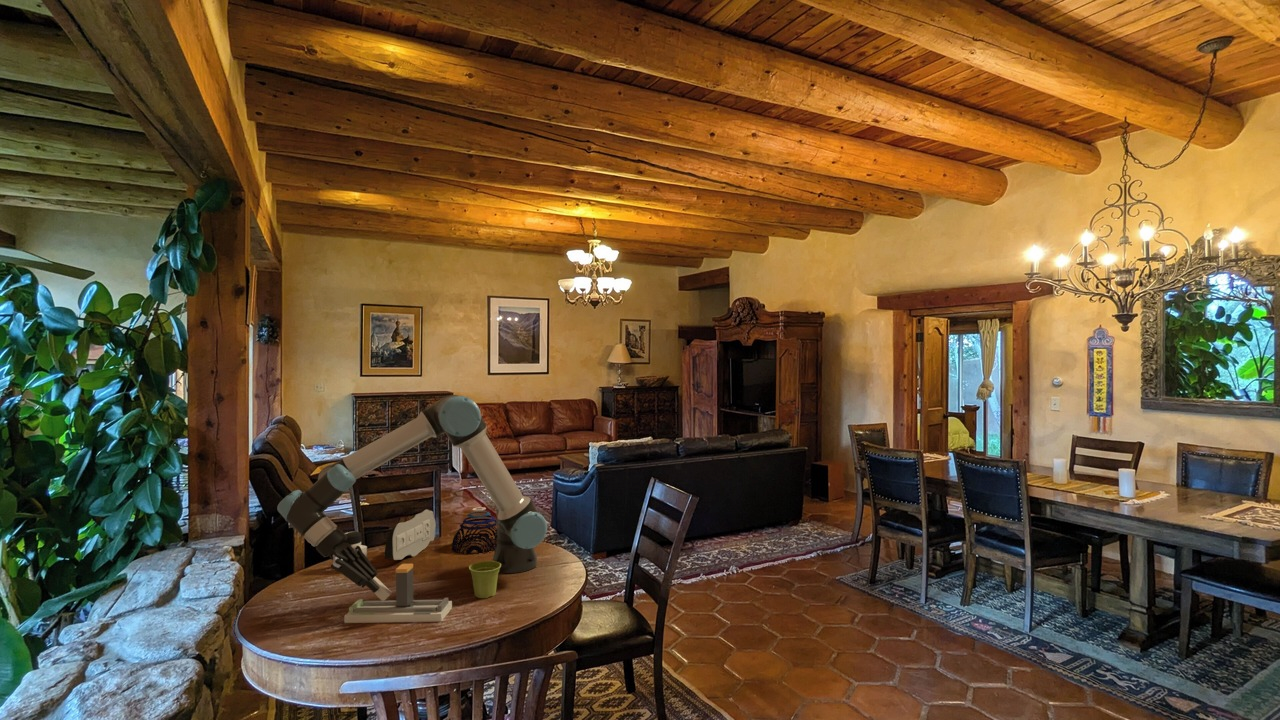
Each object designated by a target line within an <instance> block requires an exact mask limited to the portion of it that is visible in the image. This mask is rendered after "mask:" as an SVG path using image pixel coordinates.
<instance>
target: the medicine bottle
mask: <svg viewBox="0 0 1280 720" xmlns="http://www.w3.org/2000/svg"><path fill="white" fill-rule="evenodd" d="M344 533H345V534H346V535H347V539H346V542H347V543H348V544H350V545H351V546H352V547H353V548H356V547H357V546H359V547H360V548H361V550H362V552H363V553H364V555H365V556H366V557H367V558H368V546H367V545H363V544H362V532H359V531H349V532H348V531H347V532H344Z"/></svg>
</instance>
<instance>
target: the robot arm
mask: <svg viewBox="0 0 1280 720" xmlns="http://www.w3.org/2000/svg"><path fill="white" fill-rule="evenodd" d="M487 430H488V426H487V424H486V422H485V420H484V419H483V417H482V413H481V410H480V407H479V405H478V404H477V403H476V401H474V400H473V399H471V398H469V397H468V396H465V395H458V394H457V395H456V394H449V395H446V396H443V397H442V398H441V399H439V400H437V401H435V403H433V404H432V405H430V406H428V407H427V408H426V409H423V410H422V411H420V413H419V415H418V416H417V417H416V418H414V419H412V420H410V421H408V422H406V423H405V424H403V425H401V426H399V427H398V428H396V429H394V430H392V431H390V432H389V433H387V434H385V435H383V436H381V437H379V438H378V439H376V440H374V441H372V442H371V443H369V444H367V445H365V446H363V447H361V448H360V449H358V450H356V451H354V452H352V453H351V454H349V455H347V456H345V457H343V458H342V459H340V460H338V461H336V462H334V463H332V464H328V465H326V466H325V467H324V468H322V469H321V470H320V471H319V473H318V476H317V480H316V482H314V483H313V484H312V485H311V486H310V487H309V488H307V489H306V490H304V491H302V490H300V489H296V490H294V491H292V492H290V493H289V494H287V495H286V496H285V497H284V498H283V499H282V500H281V501H280V502H279V503H278V504H277V512H278V513H279V514H280V516H281V517H282V518H283V519H284V520H285V521H286V522H287V523H288V524H289V525H290V526H291V527H293V529H295V531H297V532H298V534H300V535H301V536H302V537H303V538H304V539H305V540H306V541H307V543H309V544H311V546H312V547H315V549H316V551H317V552H318V553H319V554H320V555H321V556H322V557H323V558H327V557H329V558H330V559H331V560H332V563H331V565H330V568H331V569H333V570H335V571H338V572H339V573H340V574H342V575H343V576H345V578H347V579H349V580H350V581H351V582H353V583H354V584H356V586H358V587H361V588H365V587H367V588H368V589H369V590H370V591H371V592H372V593H374V595H375V596H376V597H377V598H378V599H380V601H383V602H384V601H387V599H388V598H389V597H390V596H391V595H392V594H393V592H392V591H391V590H390V589H389V588H388V587H387V586H386V585H385V584H384V583H383V582H382V581H381V580H380V579H379V578H377V576H378V573H379V572H378V570H377V569H376V568H375V566H374V565H373V564H372V563H371V561H370V560H369V559H368V556H367V557H366V556H365V555H364V553H363V552H362V550H361V548H360V547H359V546H357V547H356V548H353V547H352V546H351V545H350V544H348V543H347V542H346V539H347V535H346V534H345V533H346V532H343V530H341V528H338V525H337V524H336V523H334V522H333V521H332V520H331V519H330V518H329V517H328V515H326V514H325V513H324V512H325V510H327V509H329V507H330V506H331V505H332V504H333V503H335V502H336V501H337V500H338V499H339V498H340V497H342V496H343V495H344V494H345V493H346V492H347V491H349V490H350V488H352V486H353V485H354V484H355V483H356V481H357V480H358V479H359V478H361V477H363V476H365V475H367V474H369V473H371V471H374V470H375V469H377V468H379V467H380V466H383V465H384V464H387V462H390V461H391V460H392V459H393V460H394V459H395V458H397V457H398V456H400V455H402V454H403V453H405V452H407V451H409V450H411V449H413V448H414V447H416V446H417V445H419V444H421V443H423V442H424V441H427V440H429V439H430V438H438V437H440V436H441V435H444V434H445V435H446V436H447V437H448V439H449V440H448V441H450V442H451V444H452V447H455V448H459V449H460V450H461V451H462V452H463V455H464V456H465V457H466V459H467V461H468V462H469V464H470V466H471V467H472V469H473V471H474V472H475V474H476V475H477V478H478V479H479V480H480V482H481V484H482V485H483V487H484V488H485V491H486V492H487V493H488V495H489V497H490V498H491V500H492V502H493V504H495V506H496V509H495V511H496V520H497V524H496V528H497V534H496V535H497V542H496V543H497V547H495V551H494V554H493V556H492V560H491V561H496V562H499V563H501V567H500V569H499V572H498V573H502V574H503V573H504V574H516V573H517V574H518V573H523V572H526V571H530V570H532V568H533V569H534V567H535V566H536V565H537V566H538V556H537V552H536V550H535V548H536V547H537V546H538V545H540V544H541V543H542V542H543V541H544V539H545V538H546V535H547V532H548V523H547V521H546V519H545V517H544V515H542V514H541V513H540V512H539V511H538V510H537V508H536V506H535V504H534V502H533V501H532V499H531V498H530V497H529V496H525V495H524V494H522V492H521V490H520V489H519V487H518V485H517V484H516V482H515V480H514V479H513V476H512V475H511V474H510V472H509V470H508V469H507V467H506V465H505V464H504V462H503V460H502V459H501V457H500V456H499V453H498V451H497V450H496V448H495V447H494V445H493V443H492V442H491V440H490V438H489V436H488V435H487V433H486V432H487ZM537 566H536V567H537ZM536 567H535V568H536Z"/></svg>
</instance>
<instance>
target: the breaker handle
mask: <svg viewBox="0 0 1280 720" xmlns="http://www.w3.org/2000/svg"><path fill="white" fill-rule="evenodd" d="M395 584H396V585H395V595H396V596H395V599H396V607H413V606H414V601H413V600H414V563H402V564H400V565H399V566H398V567H396V568H395Z"/></svg>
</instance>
